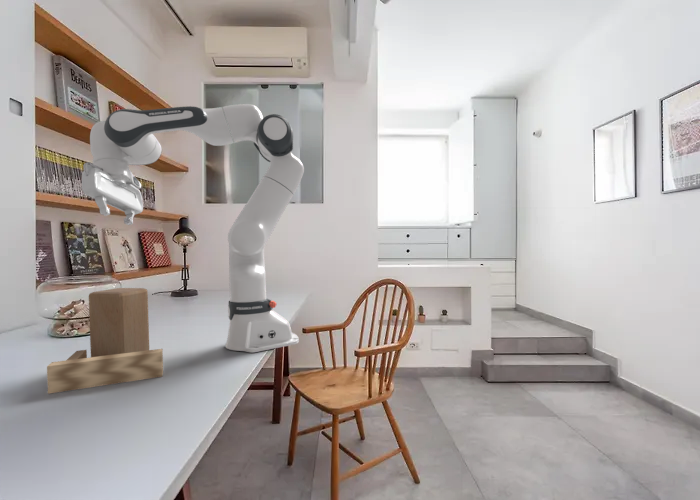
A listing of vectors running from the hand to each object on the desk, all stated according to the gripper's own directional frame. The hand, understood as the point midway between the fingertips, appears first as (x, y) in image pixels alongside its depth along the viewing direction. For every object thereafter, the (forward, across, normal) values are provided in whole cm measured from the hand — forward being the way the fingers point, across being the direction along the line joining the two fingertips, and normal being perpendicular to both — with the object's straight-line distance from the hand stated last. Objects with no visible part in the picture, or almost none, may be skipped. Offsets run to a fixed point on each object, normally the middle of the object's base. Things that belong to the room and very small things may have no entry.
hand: (117, 219), depth 99 cm
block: (+39, +5, +7) cm, 40 cm away
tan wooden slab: (+42, -5, +3) cm, 42 cm away
